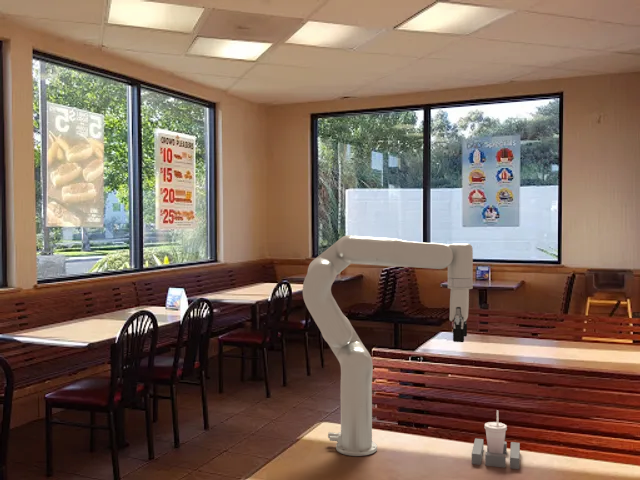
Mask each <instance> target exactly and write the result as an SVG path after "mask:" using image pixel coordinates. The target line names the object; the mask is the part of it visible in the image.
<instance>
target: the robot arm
mask: <svg viewBox="0 0 640 480" xmlns="http://www.w3.org/2000/svg"><path fill="white" fill-rule="evenodd" d="M473 255H474V250H473V246H472V245H471V243H467V242H466V243H461V242H459V243H458V242H457V243H449V244H448V243H447V244H446V243H440V242H419V241H410V240H409V241H408V240H402V239H399V238H391V237H375V236H364V235H363V236H361V235H351V234H349V235H344V236H341V237H340V238H339V239H338V240H336V242H334V243H333V244H332V245H331V246H330V247H328V248H327V249H326V250H324V251H323V252H322V253H320V254H319V255H318V256H317V257H316V258H314V259H313V260H312V261H311V262H310V263H309V265H308V267H307V273H306V276H305V277H304V280H303V282H302V283H303V284H302V297H303V301H304V303H305V307H306V308H307V310H308V312H309V313H310V315H311V317H312V319H313V322H315V324H316V325H317V327H318V329H319V331H320V332H321V336H322V338H323V339H324V341H325V342H326V343H327V344H328V346H329V348H330V350H331V351H332V352H333V354H334V356H335V357H336V359H337V362H339V366H340V431H338V433H337V432H333V431H329V432H328V433H327V434H328V435H327V438H328V439H329V441H330V442H336V444H335V449H336V451H337V452H338V453H339V454H343V455H345V456H349V457H351V456H352V457H363V456H369V455H372V454H374V453H375V452H376V451H378V445H377V443H376V442H375V441H373V397H372V395H373V393H372V392H373V391H372V390H373V374H374V373H373V371H374V370H373V369H374V368H373V367H374V365H373V358H372V356H371V354H370V352H369V350H368V349H367V348H366V347H365V345H364V344H363V342H362V340H361V339H360V337H359V335H358V333H357V332H356V330H355V328H354V327H353V326H352V323H351V321H350V320H349V319H348V317H346V315H345V314H344V313H343V312H342V310H341V308H340V307H339V305H338V303H337V301H336V299H335V298H334V296H333V294H332V286H333V285H334V284H333V283H334V282H335V281H336V278H337V276H338V275H339V274H340V273H341V272H342V271H344V270H345V269H346V268H347V267H349V266H350V265H351V264H354V265H369V266H370V265H371V266H385V267H395V268H397V267H399V268H401V267H404V268H405V267H406V268H418V269H419V268H420V269H421V268H422V269H432V270H433V269H434V270H437V269H438V270H442V269H446V268H447V289H450V295H449V296H450V298H449V321H450V322H453V328H452V342H454V343H464V342H465V338H466V337H467V336H468V323H467V320H468V318H469V310H470V309H469V308H470V307H469V306H470V305H469V304H470V302H469V301H470V300H469V299H470V296H469V295H470V293H469V292H470V290H473V285H474V284H473V281H474V278H473V276H474V271H473V268H474V265H473V261H474V256H473Z"/></svg>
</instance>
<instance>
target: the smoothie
mask: <svg viewBox="0 0 640 480" xmlns="http://www.w3.org/2000/svg"><path fill="white" fill-rule="evenodd" d="M499 412H500V411H499V410H497V409H496V421H488V422H485V423H484V429H485V434H486V435H485V436H486V442H487V443H486V445H487V444H488V452H492V453H501V454H503V448H504V441H505V440H506V431H507V430H508V428H507V427H508V426H507V424H505V423H502V422H499V419H500V418H499Z"/></svg>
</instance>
